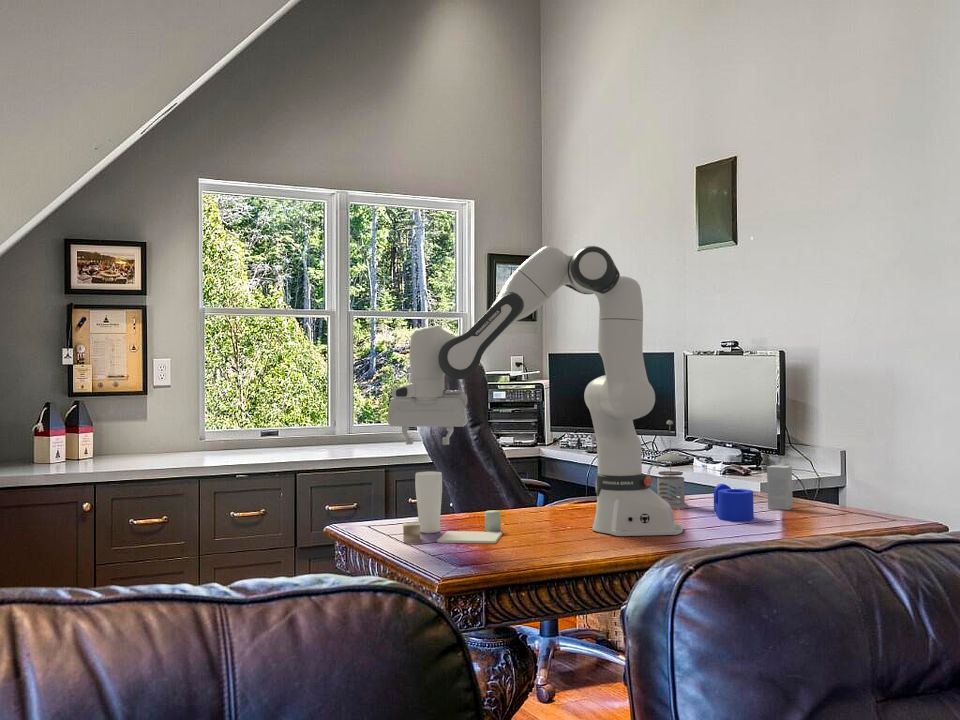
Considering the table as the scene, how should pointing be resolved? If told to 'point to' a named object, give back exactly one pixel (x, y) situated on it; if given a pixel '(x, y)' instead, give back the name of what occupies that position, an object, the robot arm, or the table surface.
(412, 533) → the ash block
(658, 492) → the french press
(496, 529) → the sage cylinder
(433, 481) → the drinking glass
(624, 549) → the table surface
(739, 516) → the bracket
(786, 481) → the skincare box
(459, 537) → the cream mat
